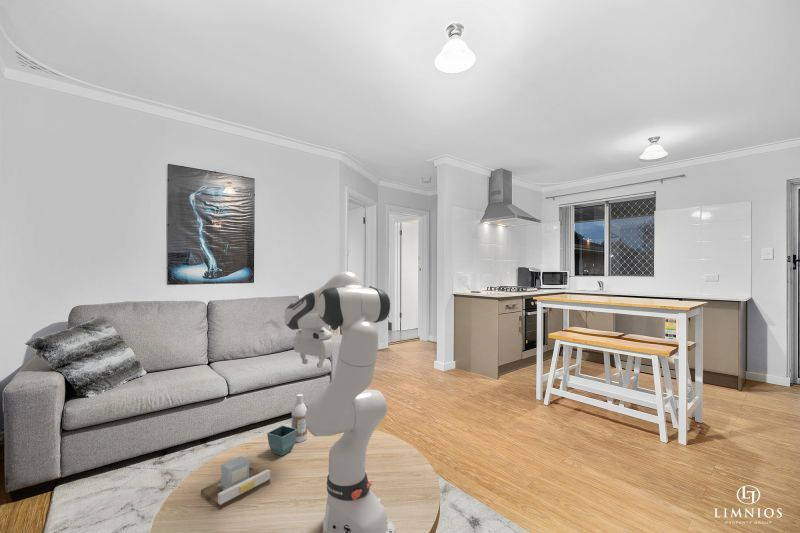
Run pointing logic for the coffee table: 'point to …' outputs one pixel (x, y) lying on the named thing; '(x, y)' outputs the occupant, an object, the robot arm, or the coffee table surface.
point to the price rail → (243, 486)
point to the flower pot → (282, 439)
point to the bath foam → (299, 419)
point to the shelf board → (216, 488)
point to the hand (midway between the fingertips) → (312, 365)
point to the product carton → (234, 472)
